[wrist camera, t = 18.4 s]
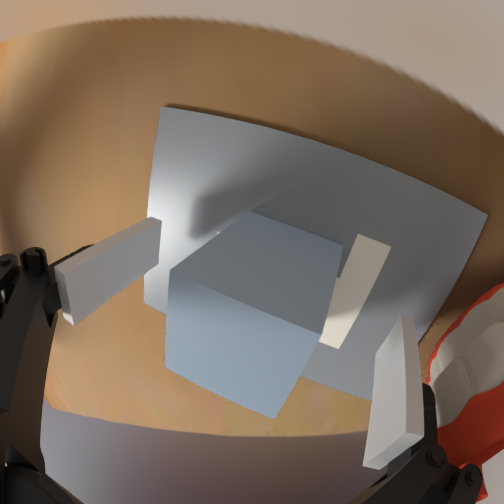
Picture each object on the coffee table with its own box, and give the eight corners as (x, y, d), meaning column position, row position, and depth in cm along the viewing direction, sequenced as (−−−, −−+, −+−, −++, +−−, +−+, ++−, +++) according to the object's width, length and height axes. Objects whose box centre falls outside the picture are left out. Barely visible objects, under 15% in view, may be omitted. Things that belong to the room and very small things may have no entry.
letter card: (146, 300, 21) (143, 303, 21) (164, 106, 15) (160, 106, 14) (372, 397, 17) (371, 401, 17) (485, 213, 11) (488, 215, 10)
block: (231, 289, 17) (165, 367, 11) (250, 210, 15) (169, 270, 9) (311, 321, 16) (274, 419, 10) (343, 245, 14) (321, 335, 8)
